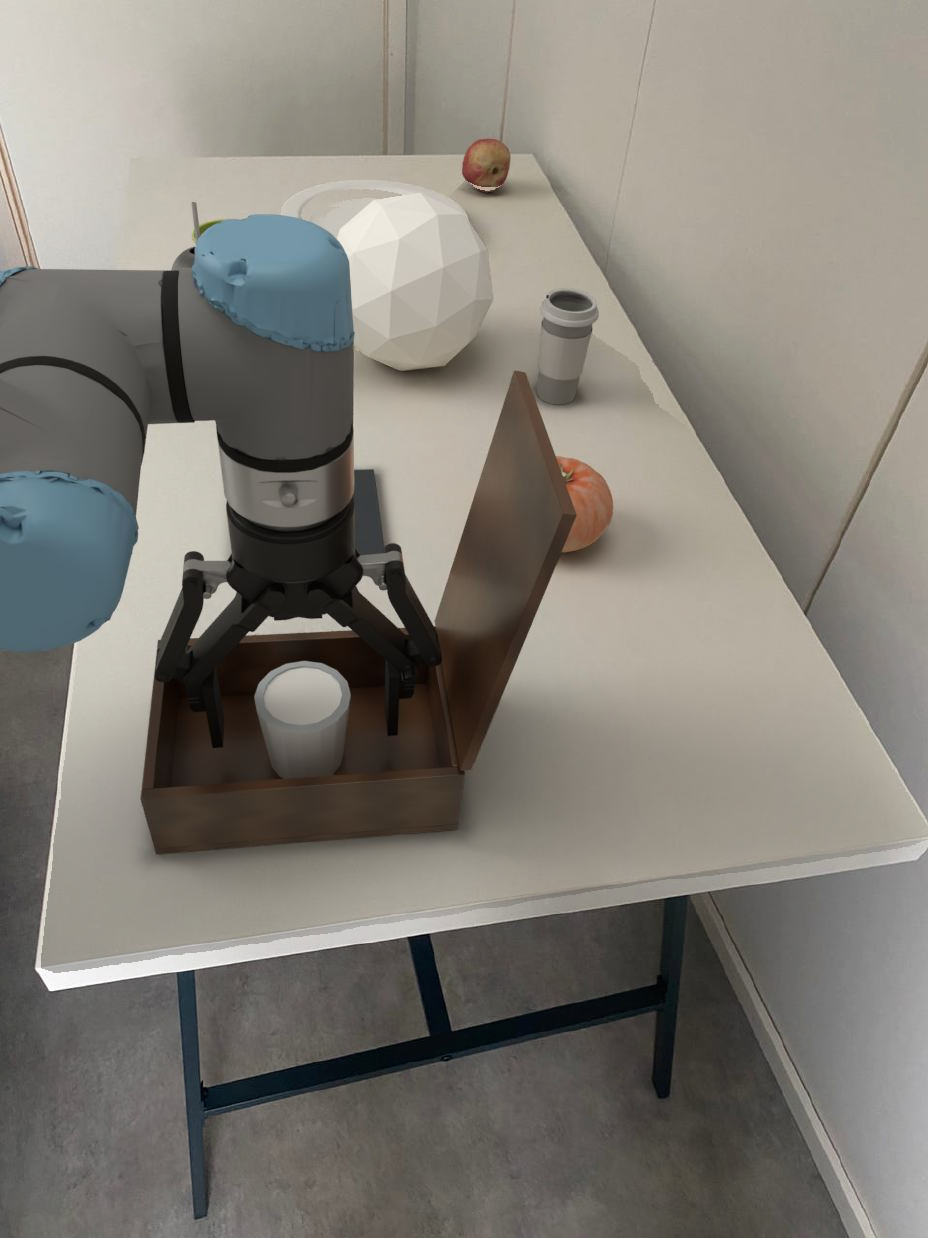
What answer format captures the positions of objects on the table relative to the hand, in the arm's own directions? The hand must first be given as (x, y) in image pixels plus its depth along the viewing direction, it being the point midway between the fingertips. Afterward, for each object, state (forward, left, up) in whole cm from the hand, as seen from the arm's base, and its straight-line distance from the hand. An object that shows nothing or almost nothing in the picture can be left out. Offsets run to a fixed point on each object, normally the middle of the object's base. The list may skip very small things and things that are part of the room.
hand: (305, 727), depth 72 cm
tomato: (+25, +26, -4) cm, 36 cm away
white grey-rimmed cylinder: (0, 0, -3) cm, 3 cm away
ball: (+14, +61, -4) cm, 63 cm away
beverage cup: (-9, +56, -4) cm, 57 cm away
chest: (0, 0, -4) cm, 4 cm away
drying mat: (+1, +30, -4) cm, 30 cm away
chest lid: (+12, 0, +14) cm, 19 cm away
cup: (+31, +52, -4) cm, 61 cm away
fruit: (+32, +114, -4) cm, 119 cm away
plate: (+13, +98, -4) cm, 99 cm away
